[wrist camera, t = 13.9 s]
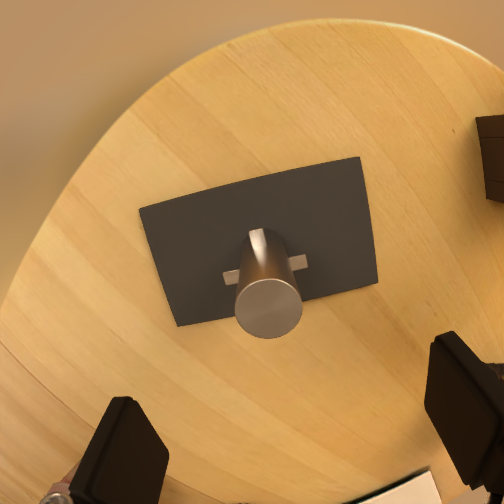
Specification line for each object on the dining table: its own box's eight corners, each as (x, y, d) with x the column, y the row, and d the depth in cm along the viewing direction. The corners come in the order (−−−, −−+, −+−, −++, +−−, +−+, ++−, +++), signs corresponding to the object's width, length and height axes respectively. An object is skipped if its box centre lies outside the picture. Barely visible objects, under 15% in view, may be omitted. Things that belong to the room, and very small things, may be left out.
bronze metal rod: (221, 223, 28) (197, 270, 16) (289, 207, 27) (315, 243, 16) (238, 286, 29) (228, 365, 18) (303, 271, 29) (331, 344, 17)
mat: (140, 208, 28) (138, 209, 27) (357, 156, 26) (359, 156, 26) (178, 324, 31) (177, 327, 31) (376, 280, 30) (378, 283, 29)
